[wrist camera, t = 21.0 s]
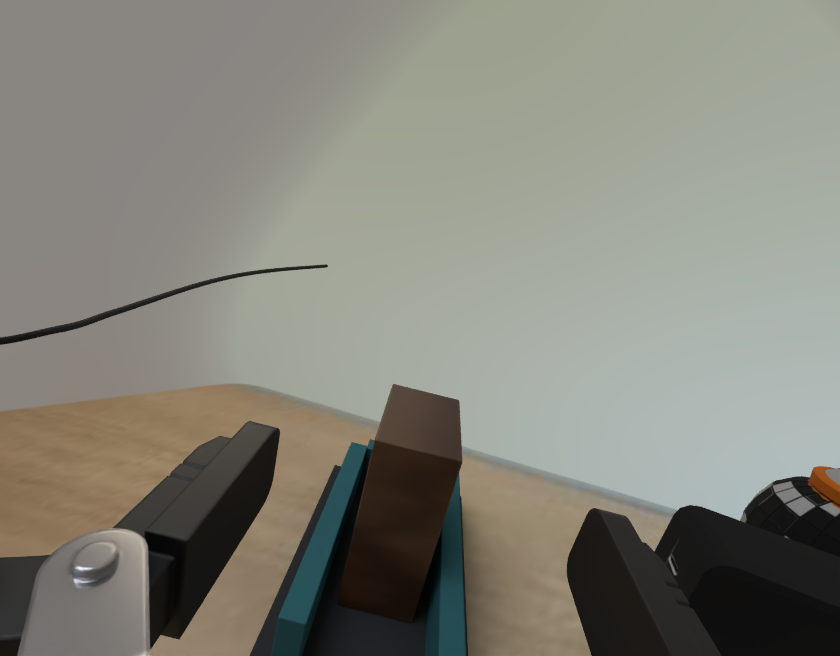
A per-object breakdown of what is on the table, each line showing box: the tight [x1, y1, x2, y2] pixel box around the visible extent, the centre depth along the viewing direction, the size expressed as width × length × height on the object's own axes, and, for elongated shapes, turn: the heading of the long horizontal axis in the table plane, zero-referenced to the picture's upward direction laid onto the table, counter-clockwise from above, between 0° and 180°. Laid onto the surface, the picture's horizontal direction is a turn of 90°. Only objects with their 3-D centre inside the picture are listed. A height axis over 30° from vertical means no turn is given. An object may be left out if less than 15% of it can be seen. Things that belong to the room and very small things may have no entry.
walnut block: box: [337, 384, 462, 623], centre depth 22 cm, size 4×6×10 cm, turn 176°
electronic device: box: [655, 505, 840, 656], centre depth 19 cm, size 4×10×10 cm, turn 73°
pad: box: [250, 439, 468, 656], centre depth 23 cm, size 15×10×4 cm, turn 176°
